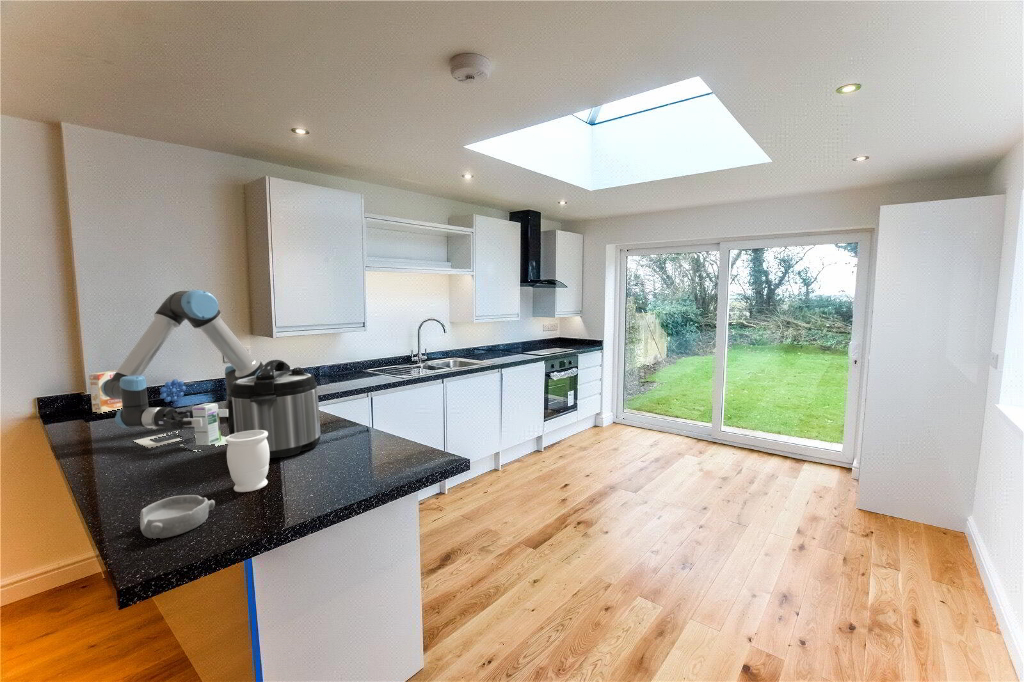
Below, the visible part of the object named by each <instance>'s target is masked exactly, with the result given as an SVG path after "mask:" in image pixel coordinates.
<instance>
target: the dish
mask: <svg viewBox="0 0 1024 682" xmlns="http://www.w3.org/2000/svg"><path fill="white" fill-rule="evenodd" d="M215 505H216V501H215V500H213V499H211V500H208V498H207V497H202V496H200V495H197V494H196V495H195V494H186V495H185V494H184V495H175V496H171V497H167V498H163V499H161V500H158V501H156V502H153V503H151V504H148V505H147V506H146V507H144V508H142V509H141V510H140V513H139V514H140V515H139V526H140V527H139V528H140V531H141V533H142V535H143V536H144V537H146V538H148V539H152V538H153V539H154V540H155V539H156V538H160V539H165V538H167V539H168V538H171V537H174V536H175V537H176V536H178V535H181V534H184V533H187V532H189V531H191V530H193V529H196V528H197V527H199V526H200V525H201V526H202V525H203V523H205V522H206V520H207V519H208V517H209V512H210V510H213V509H215ZM156 540H157V539H156Z"/></svg>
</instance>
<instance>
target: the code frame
mask: <svg viewBox="0 0 1024 682" xmlns="http://www.w3.org/2000/svg"><path fill="white" fill-rule="evenodd" d="M176 431H177V432H176ZM178 431H179V430H175V431H174V432H176V433H178ZM172 432H173V431H172ZM172 432H171V434H172ZM167 433H168V434H169V435H170V432H167ZM163 434H164V435H163ZM163 434H158V435H152V436H148V437H147V436H146V437H143V438H139V439H138V438H137V439H135V440H132V442H133V441H134V442H133V443H135V442H136V443H135V444H137V443H138V444H137V445H140V446H142V445H143V446H142V447H144V446H145V448H147V447H148V448H147V449H152V448H151V447H153V448H157V447H156V446H158V447H161V446H160V445H162V446H164V445H163V444H166V445H168V444H167V443H171V442H175V441H179V440H182V439H180V438H181V437H178V438H173V439H169V440H163V441H161V442H155V441H153V440H155V439H154V438H157V439H159V438H158V437H162V436H166V433H163ZM177 435H178V434H177ZM177 435H176V436H177ZM166 437H167V436H166ZM162 438H163V437H162ZM150 439H153V440H150ZM179 442H180V441H179ZM175 443H176V442H175ZM171 444H172V443H171Z"/></svg>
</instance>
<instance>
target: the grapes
mask: <svg viewBox="0 0 1024 682" xmlns="http://www.w3.org/2000/svg"><path fill="white" fill-rule="evenodd" d="M184 384H185V382H184V381H182V380H180V381H179V380H178V379H177V378H175V379H172V380H171V381H166V382H165V383H164V386H162V387H160V389H159V391H160V394H159V398H160V399H164V402H165V403H169V402H176V401H178V400H179V398H182V397H184V394H185V393H184V392H185V391H186V390H187V387H186V385H184Z"/></svg>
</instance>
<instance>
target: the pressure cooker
mask: <svg viewBox="0 0 1024 682" xmlns="http://www.w3.org/2000/svg"><path fill="white" fill-rule="evenodd" d="M263 365H264V366H263V367H262V368H261V369H260V371H259V372H258V374H257V376H252V377H248V378H244V379H240V380H237V381H234V382H233V383H232V386H233V389H232V390H231V398H230V399H228V417H227V418H228V422H227V423H228V424H227V425H228V434H229V435H232V434H235V433H239V432H243V431H250V430H265V431H267V432H268V436H267V437H266V439H267V442H268V445H269V452H270V457H269V459H270V458H271V459H274V458H282V457H283V458H284V457H290V456H294V455H297V454H299V453H300V452H303V451H308V450H311V449H313V448H316V447H317V445H319V443H320V440H321V424H320V423H321V422H320V410H319V409H320V408H319V395H318V393H319V392H318V384H317V381H315V375H314V374H312V373H306V372H305V369H304V368H303V367H299V366H298V367H294V368H292V369H291V366H290V365H289V364H288V363H287V362H286V361H284V360H282V359H272V360H269V361H267V362H265V364H263Z"/></svg>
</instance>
